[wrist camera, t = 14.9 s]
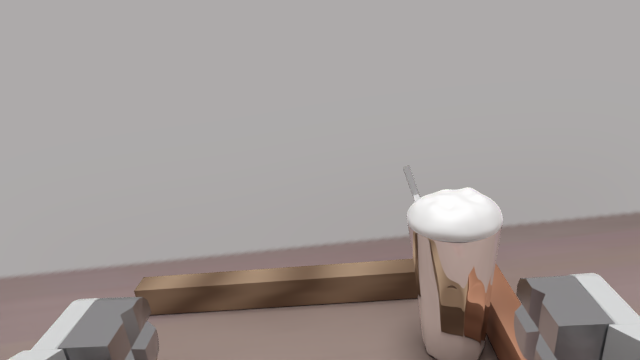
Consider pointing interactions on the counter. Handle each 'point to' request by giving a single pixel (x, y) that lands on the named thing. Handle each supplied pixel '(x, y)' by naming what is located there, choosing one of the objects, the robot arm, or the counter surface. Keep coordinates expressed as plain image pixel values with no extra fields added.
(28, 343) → the counter surface
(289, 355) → the counter surface
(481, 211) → the milkshake
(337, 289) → the rail guide
